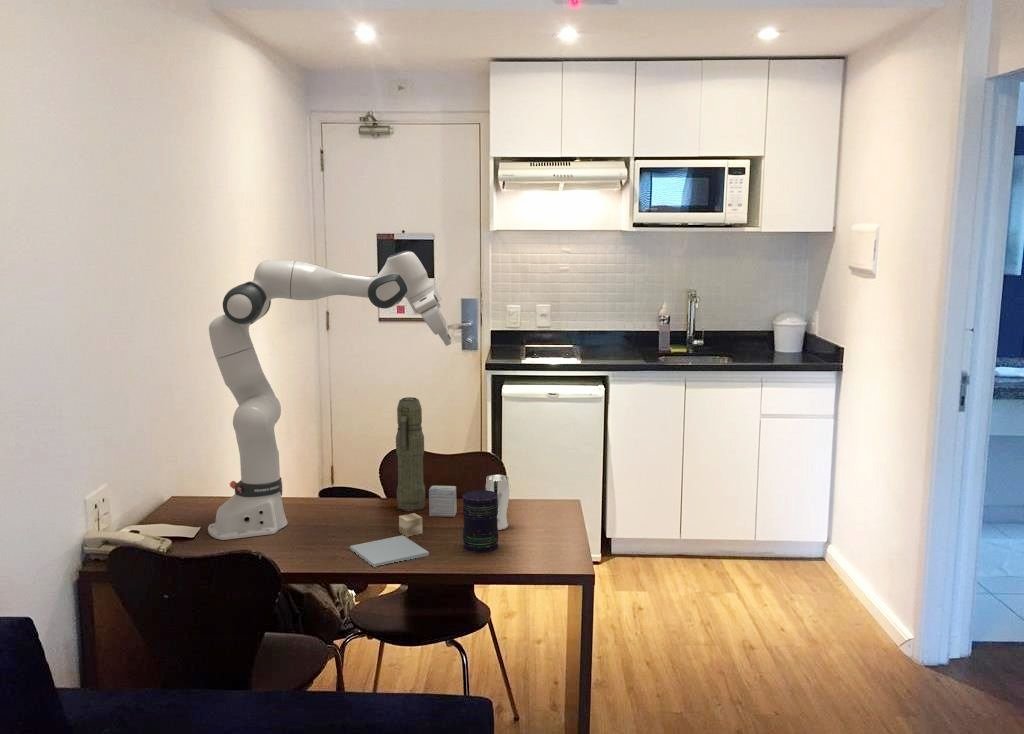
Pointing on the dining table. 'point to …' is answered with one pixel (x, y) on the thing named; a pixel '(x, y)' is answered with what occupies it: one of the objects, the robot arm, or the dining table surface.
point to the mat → (389, 550)
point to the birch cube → (410, 524)
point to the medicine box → (442, 501)
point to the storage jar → (480, 521)
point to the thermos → (410, 455)
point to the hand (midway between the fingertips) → (449, 342)
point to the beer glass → (500, 497)
